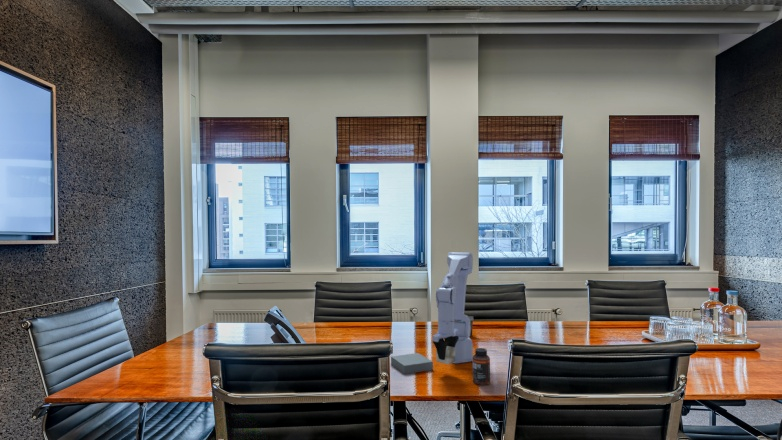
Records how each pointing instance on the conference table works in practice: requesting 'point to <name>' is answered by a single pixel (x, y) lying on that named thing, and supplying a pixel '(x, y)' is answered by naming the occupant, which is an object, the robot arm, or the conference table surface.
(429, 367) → the blue-gray box
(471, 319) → the food container
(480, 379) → the supplement bottle
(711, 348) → the conference table surface
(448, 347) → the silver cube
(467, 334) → the robot arm
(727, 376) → the conference table surface
